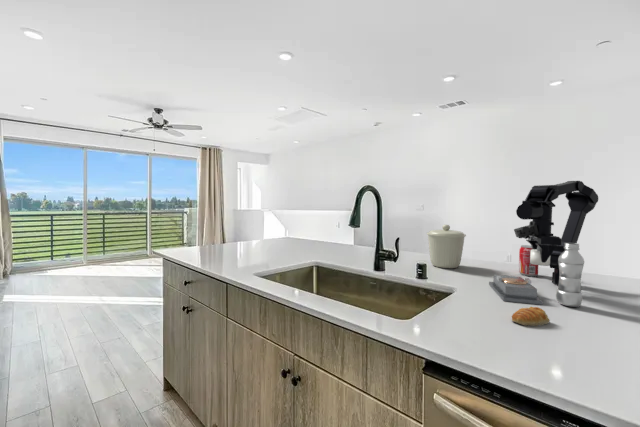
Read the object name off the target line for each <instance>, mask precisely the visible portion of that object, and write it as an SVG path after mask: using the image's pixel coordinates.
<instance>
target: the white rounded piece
mask: <svg viewBox="0 0 640 427" xmlns="http://www.w3.org/2000/svg"><path fill="white" fill-rule="evenodd" d="M530 263H531V264H534V265H538V266H541V267H542V266H543V267H550V256H549V258H548V259H547V261H546V262H545V263H543V262H542V261H541V254H540V248H539V247H538V246H537V249H532V250H531V253H530Z"/></svg>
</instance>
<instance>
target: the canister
mask: <svg viewBox="0 0 640 427" xmlns="http://www.w3.org/2000/svg"><path fill="white" fill-rule="evenodd" d="M450 228H451V226H450V224H443V225H442V229H431V230H430V231H428V232H426V235H427V238H428V239H427V240H428V250H429V259H430V263H431V264H432V266H434V267H437V268H440V269H441V268H442V269H456V268H458V267H459V266H460V265H461V262H462V256H463V251H464V243H465V238H466V237H467V235H466V234H465V233H464V232H462V231H459V230H454V229H452V230H451V229H450Z"/></svg>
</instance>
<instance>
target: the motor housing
mask: <svg viewBox="0 0 640 427" xmlns="http://www.w3.org/2000/svg"><path fill="white" fill-rule="evenodd" d="M492 280H493V281H489V282H488V285H489V286H490V287H491V289H492V290H493V291H494V292H495V293H496V295H497V296H499V298H500V299H501V300H502V301H503V302H510V303H518V304H529V305H530V304H531V305H540V306H543V300H541V299H540V297H538V289H537V287H535V286H534V285H533V284H532V279H530V278H527V277H525V278H523V277H521V276H512V275H501V274H500V275H499V274H493V279H492Z"/></svg>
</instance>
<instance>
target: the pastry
mask: <svg viewBox="0 0 640 427" xmlns="http://www.w3.org/2000/svg"><path fill="white" fill-rule="evenodd" d="M511 321H512V322H514V323H516V324H519V325H522V326H525V327H527V325H528V326H529V325H530V327H539V326H538V325H540V326H545V325H544V324H546V325H548V324H549V323H550V321H551V320H550V318H549V316H548V314H547V313H546V311H545V310H544V309H542V308H540V307H538V306H529V307H522V308H519V309H518V310H516V311H515V312H514V313H513V314H511Z"/></svg>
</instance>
